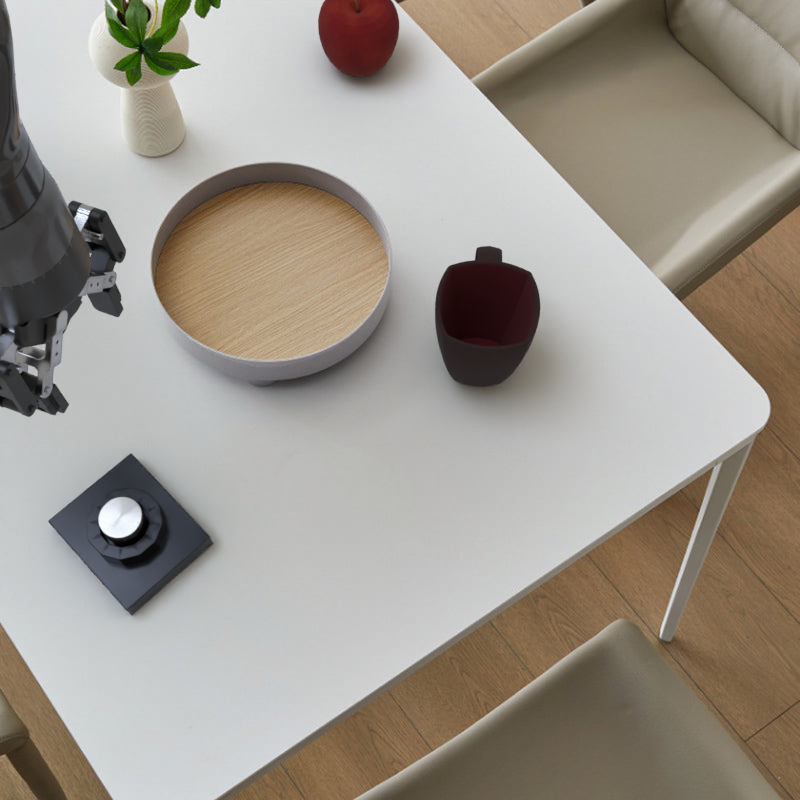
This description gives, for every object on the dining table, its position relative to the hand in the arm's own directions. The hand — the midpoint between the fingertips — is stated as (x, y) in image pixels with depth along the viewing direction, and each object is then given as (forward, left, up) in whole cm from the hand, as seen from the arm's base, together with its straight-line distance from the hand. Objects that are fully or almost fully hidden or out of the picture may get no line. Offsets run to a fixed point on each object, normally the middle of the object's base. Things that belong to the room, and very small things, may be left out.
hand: (82, 357), depth 75 cm
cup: (+11, +34, -28) cm, 45 cm away
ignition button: (+2, -5, -24) cm, 25 cm away
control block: (+2, -5, -28) cm, 28 cm away
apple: (-26, +52, -28) cm, 64 cm away
